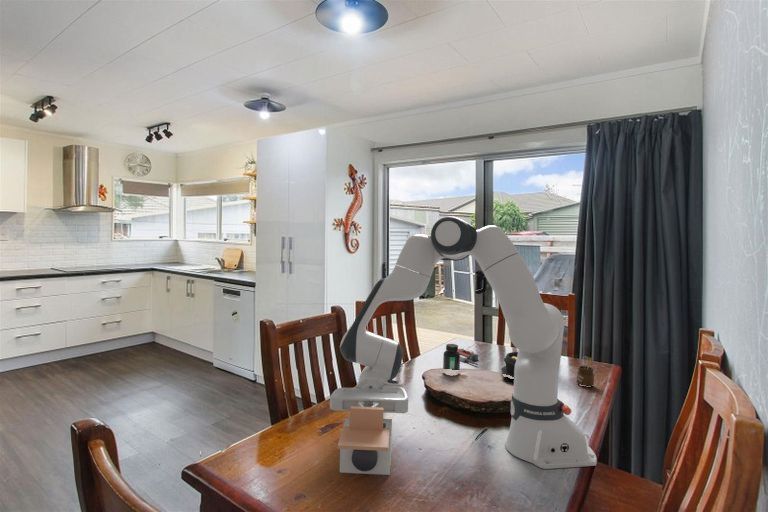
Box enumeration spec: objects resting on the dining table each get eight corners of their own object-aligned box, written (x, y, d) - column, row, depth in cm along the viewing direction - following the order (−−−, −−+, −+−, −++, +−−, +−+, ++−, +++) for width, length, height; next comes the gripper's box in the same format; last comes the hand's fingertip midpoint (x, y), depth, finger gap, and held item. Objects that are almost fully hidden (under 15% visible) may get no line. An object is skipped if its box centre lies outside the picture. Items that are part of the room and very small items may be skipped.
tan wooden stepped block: (389, 431, 101) (390, 407, 100) (388, 451, 91) (388, 425, 91) (343, 429, 101) (344, 406, 101) (337, 448, 92) (338, 423, 92)
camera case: (391, 452, 108) (392, 419, 108) (389, 478, 97) (390, 441, 96) (345, 450, 109) (346, 417, 108) (338, 476, 97) (339, 438, 97)
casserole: (537, 390, 155) (538, 368, 155) (490, 379, 167) (491, 358, 166) (556, 374, 175) (557, 354, 174) (513, 364, 186) (514, 346, 186)
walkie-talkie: (446, 356, 199) (475, 368, 182) (447, 347, 199) (476, 358, 181) (461, 353, 203) (490, 365, 186) (461, 345, 203) (490, 355, 186)
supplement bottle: (454, 377, 167) (455, 348, 167) (439, 374, 172) (440, 345, 171) (462, 373, 173) (463, 345, 172) (447, 369, 177) (448, 342, 176)
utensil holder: (589, 383, 165) (591, 353, 164) (596, 388, 158) (597, 358, 158) (574, 382, 165) (575, 352, 165) (580, 388, 159) (581, 357, 158)
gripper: (334, 379, 115) (324, 399, 101) (408, 382, 114) (408, 402, 100) (333, 401, 115) (324, 424, 101) (407, 404, 114) (408, 427, 100)
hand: (366, 413), depth 101 cm, fingers closed, pressing on tan wooden stepped block
